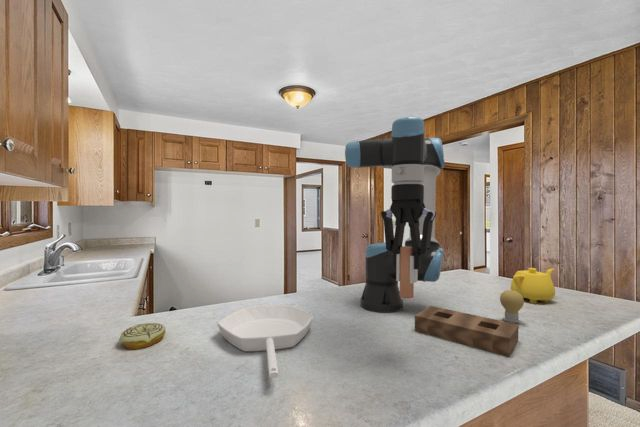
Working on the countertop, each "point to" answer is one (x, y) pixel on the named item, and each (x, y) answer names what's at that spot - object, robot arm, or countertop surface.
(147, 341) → the decorated donut
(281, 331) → the pan
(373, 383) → the countertop surface
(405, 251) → the peg
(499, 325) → the hole block
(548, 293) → the teapot
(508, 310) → the light bulb
